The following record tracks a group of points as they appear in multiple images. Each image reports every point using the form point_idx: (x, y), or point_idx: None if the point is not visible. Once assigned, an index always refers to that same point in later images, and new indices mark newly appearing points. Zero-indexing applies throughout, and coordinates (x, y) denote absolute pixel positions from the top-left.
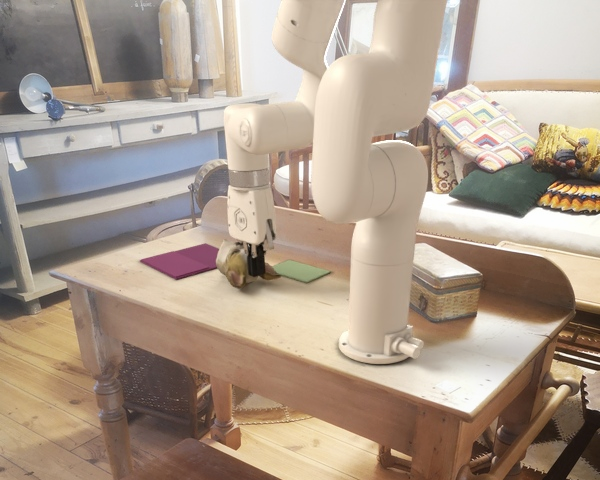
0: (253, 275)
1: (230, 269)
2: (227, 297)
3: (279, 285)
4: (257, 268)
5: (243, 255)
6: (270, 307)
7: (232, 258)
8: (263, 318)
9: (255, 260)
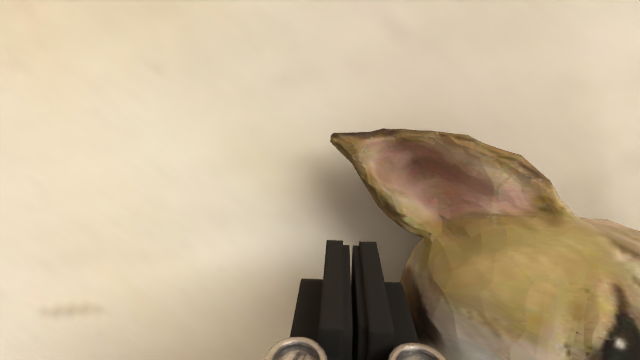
0: (326, 245)
1: (536, 214)
2: (390, 67)
3: None
4: (300, 291)
5: (496, 351)
6: (148, 145)
7: (584, 285)
8: (56, 39)
9: (311, 332)
